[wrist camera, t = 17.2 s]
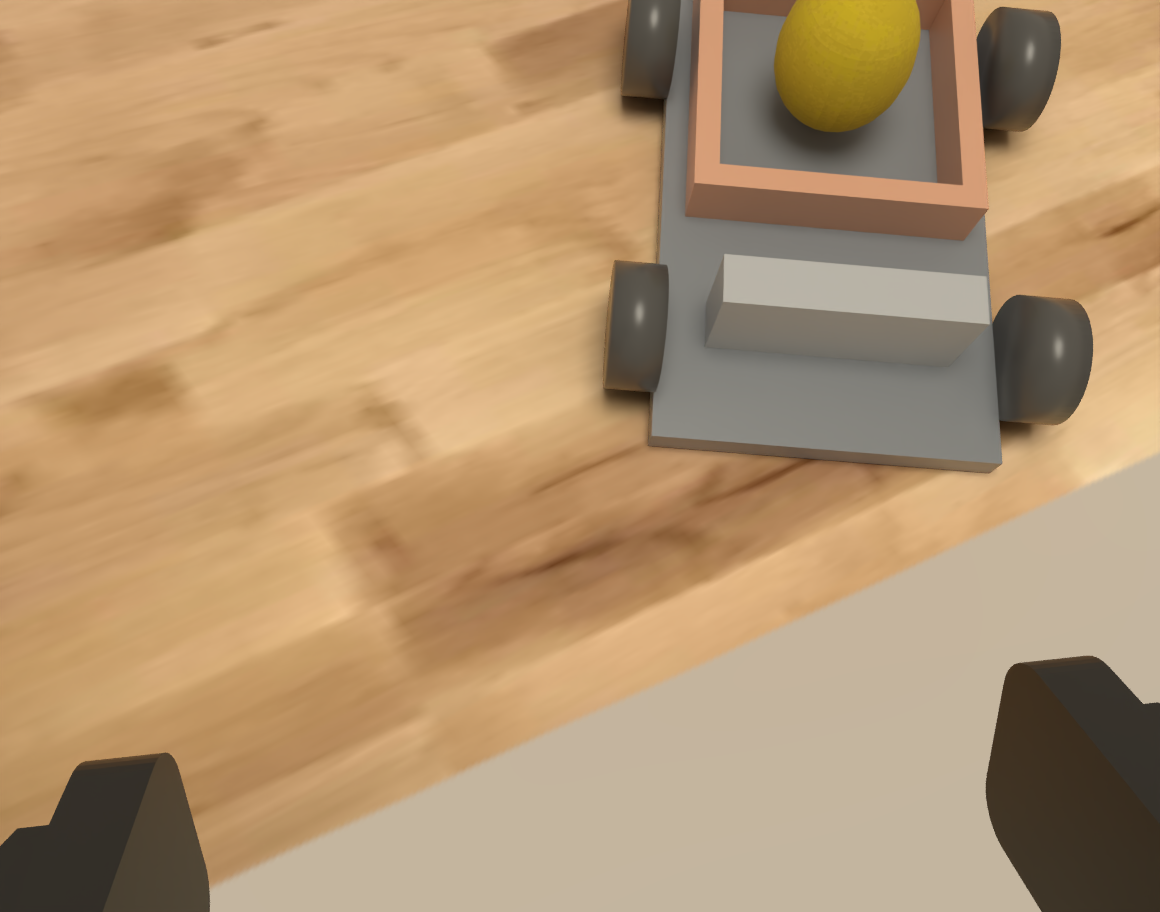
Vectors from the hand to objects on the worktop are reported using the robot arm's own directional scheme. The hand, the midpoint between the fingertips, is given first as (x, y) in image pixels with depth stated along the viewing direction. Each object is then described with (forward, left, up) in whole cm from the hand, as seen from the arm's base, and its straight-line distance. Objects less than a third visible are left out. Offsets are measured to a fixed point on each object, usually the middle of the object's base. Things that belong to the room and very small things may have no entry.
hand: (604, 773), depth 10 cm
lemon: (+10, +29, -28) cm, 42 cm away
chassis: (+10, +25, -29) cm, 39 cm away
